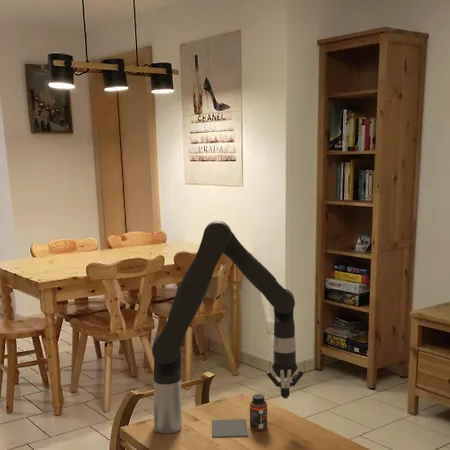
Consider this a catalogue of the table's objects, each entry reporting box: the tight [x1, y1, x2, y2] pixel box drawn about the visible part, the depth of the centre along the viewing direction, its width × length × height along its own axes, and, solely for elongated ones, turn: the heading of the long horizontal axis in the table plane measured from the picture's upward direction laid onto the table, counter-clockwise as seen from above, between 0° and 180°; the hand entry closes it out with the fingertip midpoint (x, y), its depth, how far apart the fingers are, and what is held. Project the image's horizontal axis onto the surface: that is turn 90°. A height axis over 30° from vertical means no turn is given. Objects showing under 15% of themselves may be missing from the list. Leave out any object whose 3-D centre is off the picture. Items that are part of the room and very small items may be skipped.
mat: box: [211, 418, 249, 439], centre depth 192 cm, size 12×12×1 cm
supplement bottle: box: [249, 393, 268, 432], centre depth 192 cm, size 6×6×11 cm
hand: (285, 397), depth 192 cm, fingers closed
